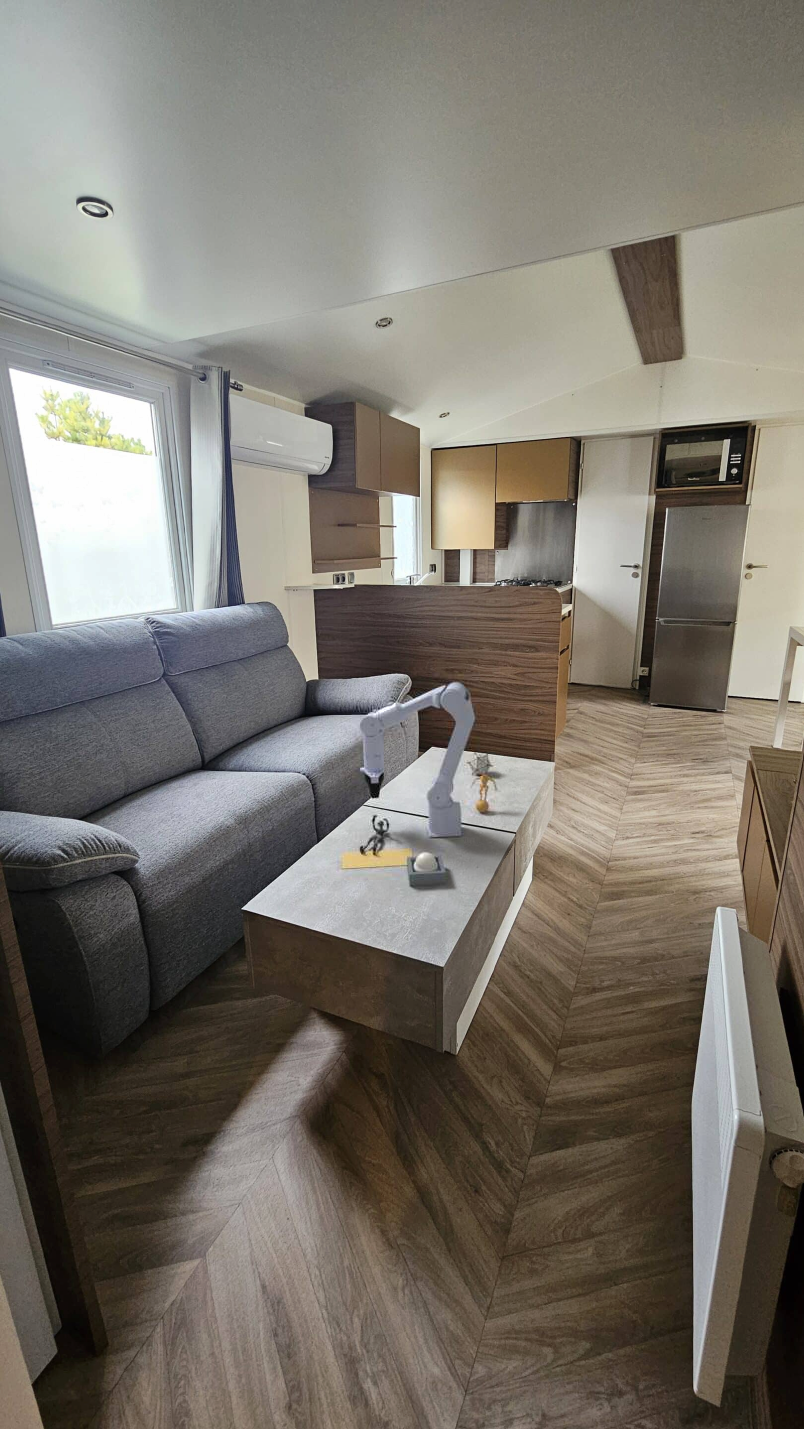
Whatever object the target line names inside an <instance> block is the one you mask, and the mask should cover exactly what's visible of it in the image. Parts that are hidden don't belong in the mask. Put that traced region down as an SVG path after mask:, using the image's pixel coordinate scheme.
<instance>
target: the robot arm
mask: <svg viewBox="0 0 804 1429" xmlns="http://www.w3.org/2000/svg"><path fill="white" fill-rule="evenodd" d="M430 706H432V707H435V708H437V709H441V707H442V708H443V709H444V710H445V711H446V712H447V713H449V714H450V715H451V716H452V718H453V720H454V721H455V723H456V724H455V726H454V730H453V732H452V733H451V734H452V735H451V736H450V740H449V743H448V746H447V747H446V748H447V749H446V752H445V754H444V757H443V760H442V763H441V766H440V768H439V772H438V775H437V777H435V778H434V780H432V784H431V786H430V789H429V790H428V791H427V795H426V799H427V803H428V804H427V805H428V810H427V811H428V823H427V824H426V825H425V826H426V830H427V835H428V837H429V838H443V837H461V836H462V835H463V834H462V808H461V802H459V801H454V800H453V798H452V796H451V795H452V792H453V791H454V778H455V775H456V774H457V770H458V768H459V764H460V761H461V758H462V756H463V753H464V751H465V749H466V744H467V742H468V739H469V737H470V734H471V731H472V728H473V726H474V724H475V723H474V722H475V720H476V715H475V712H474V708H473V704H472V700H471V693H470V692H469V690H468V689H467V688H466V686H465V685H464V684H462V683H461V682H458V681H456V682H455V681H454V682H450V683H449V684H448V685H441V686H439V687H437V688H434V689H432V690H430V691H427V692H425V693H423V694H421V695H419V696H417V697H415V698H413V699H411V700H409V701H407V702H405V703H401V702H398V701H396V702H393V701H391V702H388V703H387V705H386V706H385V707H383V708H380V709H377V708H376V709H374V710H373V711H371V712H369V713H367V714H366V715H365V717H363V718H362V719H361V721H360V723H359V729H360V731H361V732H362V748H363V750H362V751H363V767H360V768H359V769H360V770H359V771H360V773H364V780H365V781H366V783H367V785H368V788H369V789H368V790H369V792H370V793H369V794H370V797H371V799H379V798H380V792H381V788H382V784H383V781H384V780H385V774H384V772H385V765H384V762H385V761H384V739H383V730H386V729H388V728H391V727H393V726H395V725H397V724H400V723H403V722H404V721H406V719H407V716H408V715H410V714H413V713H415V712H418V711H421V710H423V709H425V708H428V707H430Z"/></svg>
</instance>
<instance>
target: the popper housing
mask: <svg viewBox="0 0 804 1429" xmlns="http://www.w3.org/2000/svg"><path fill="white" fill-rule="evenodd" d="M433 856H434V858H435V860H436V862H437V864H438V871H427V872H414V863H415V862H416V858H417V857H418V855H417V856H416V855H415V856H413V857H407V865H406V871H407V878H408V884H409V885H408V886H409V887H420V886H422V887H423V886H435V885H436V886H437V885H446V884H447V874H446V873H447V872H446V868H445V864H444V860H443V857H442V854H438V855H437V854H436V855H433Z"/></svg>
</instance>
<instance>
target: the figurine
mask: <svg viewBox="0 0 804 1429" xmlns="http://www.w3.org/2000/svg"><path fill="white" fill-rule="evenodd" d="M478 780H480V781H481V784H480V785H479V791H478V793H479V795H480V797H479V800H478V801H477V802H476V803H475V804H476V805H475V808H476V810H477V811H478V812H479V813H486V812H487V811H488V810H489V808H490V806H489V803H488V801H487V796H488V791H489V790H488V789H489V785H487V784H488V782H489V781H490V782H493V786H494V790H495V792H497V790H498V789H497V785H496V781H495V780H494V779H492V778H491V777H490V776H489V775H488V774H487V773H486V774H483V775H481V776H478V777H476V778H474V780H473V782H472V784H470V789H472V788H473V786H474V784H475V783H476V781H478ZM483 791H484V795H485V796H484V799H483V793H482V792H483Z"/></svg>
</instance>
